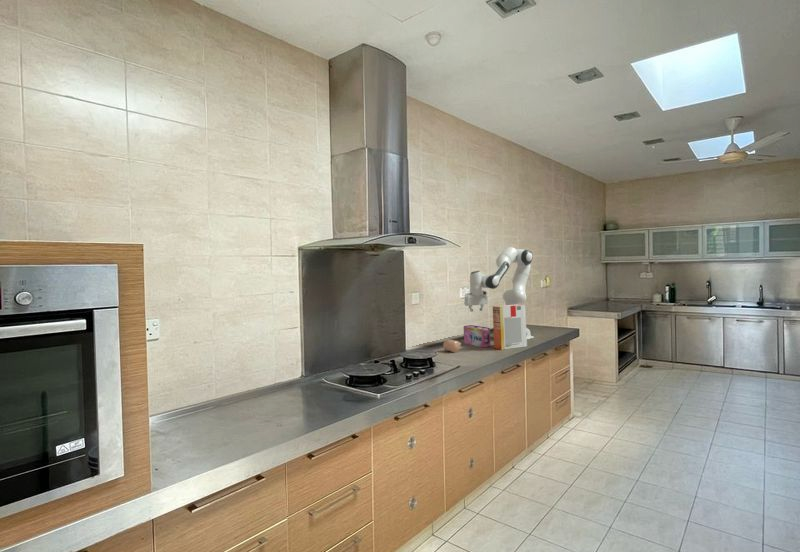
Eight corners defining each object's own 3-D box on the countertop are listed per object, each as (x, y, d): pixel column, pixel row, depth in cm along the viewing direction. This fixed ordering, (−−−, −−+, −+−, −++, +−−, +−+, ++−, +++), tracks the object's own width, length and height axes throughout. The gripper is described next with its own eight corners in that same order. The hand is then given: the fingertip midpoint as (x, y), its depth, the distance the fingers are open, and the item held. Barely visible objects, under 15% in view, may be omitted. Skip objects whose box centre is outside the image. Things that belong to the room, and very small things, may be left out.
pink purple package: (492, 346, 313) (491, 328, 313) (483, 347, 309) (483, 329, 309) (471, 342, 334) (471, 324, 334) (463, 343, 330) (463, 325, 330)
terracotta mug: (444, 352, 301) (453, 354, 294) (442, 341, 300) (451, 342, 293) (454, 347, 307) (463, 349, 300) (452, 337, 306) (461, 338, 299)
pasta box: (519, 344, 316) (517, 304, 316) (527, 346, 309) (525, 304, 309) (494, 348, 306) (492, 306, 306) (501, 349, 299) (499, 306, 299)
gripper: (467, 293, 313) (468, 312, 314) (488, 292, 324) (489, 310, 324) (462, 293, 319) (462, 311, 319) (483, 291, 329) (483, 309, 330)
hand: (476, 311), depth 322 cm, fingers open, 8 cm apart
